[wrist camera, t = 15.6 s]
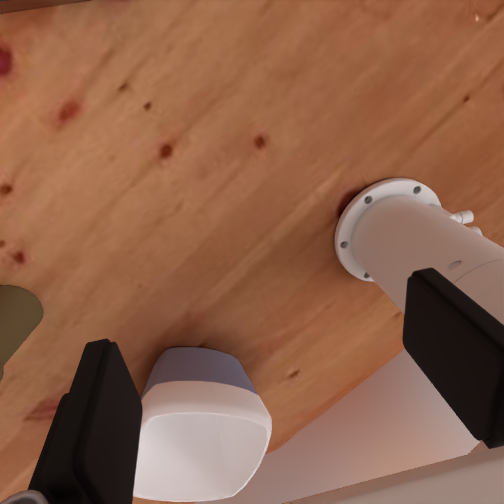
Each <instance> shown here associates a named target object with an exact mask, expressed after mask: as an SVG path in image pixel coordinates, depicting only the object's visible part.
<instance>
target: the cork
mask: <svg viewBox="0 0 504 504" xmlns="http://www.w3.org/2000/svg"><path fill="white" fill-rule="evenodd" d="M42 317H43V308H42V305H41V303H40V301H39V300H38V299H37V298H36V296H34V295H33V294H32V293H30V292H29V291H27V290H25V289H22V288H19V287H16V286H8V285H6V286H0V382H1V380H2V378H3V373H4V365H5V363H6V362H7V361H8V360H9V359H10V357H11V356H12V355H13V354H14V353H15V351H16V350H17V349H18V348H19V347H20V345H21V344H22V343H23V342H24V341H25V339H26V338H27V337H28V336H29V335H30V333H31V332H32V331H33V330H34V329H35V327H36V326H37V325H38V324H39V323H40V321H41V319H42Z"/></svg>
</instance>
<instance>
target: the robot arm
mask: <svg viewBox="0 0 504 504" xmlns="http://www.w3.org/2000/svg"><path fill="white" fill-rule="evenodd" d="M473 219H474V217H473V213H472V212H471V211H470V210H466V211H461V212H457V213H455V214H452V213H450V212H448V211H447V210H445V209H443V208H441V204H440V202H439V200H438V198H437V196H436V195H435V193H434V192H433V191H432V190H431V189H430V188H428V187H427V186H425V185H424V184H422V183H420V182H417V181H415V180H412V179H407V178H392V179H387V180H383V181H380V182H378V183H375V184H373V185H371V186H369V187H368V188H366V189H364V190H363V191H362V192H361V193H359V194H358V195H357V196H356V197H355V198H354V199H353V200H352V201H351V202H350V203H349V204H348V206H347V207H346V208H345V210H344V212H343V213H342V215H341V217H340V219H339V222H338V224H337V227H336V232H335V250H336V254H337V256H338V259H339V261H340V262H341V264H342V265H343V266H344V268H345V269H346V270H347V271H348V272H349V273H350V274H352V275H353V276H355V277H357V278H359V279H361V280H364V281H371V282H376V283H377V284H378V286H379V287H380V288H381V289H382V290H383V291H384V292H385V294H386V295H387V296H388V297H389V298H390V299H391V300H392V301H393V303H394V304H395V305H396V306H397V307H398V308H399V309H400V311H401V312H402V313H403V314H404V326H403V344H404V347H405V349H406V350H407V352H408V353H409V354H410V355H411V357H412V358H413V359H414V361H415V362H416V363H417V365H418V366H419V367H420V368H421V370H422V371H423V372H424V374H425V375H426V376H427V377H428V379H429V380H430V381H431V383H432V384H433V385H434V387H435V388H436V389H437V390H438V392H439V393H440V394H441V396H442V397H443V398H444V399H445V401H446V402H447V403H448V404H449V406H450V407H451V408H452V410H453V411H454V412H455V413H456V415H457V416H458V417H459V419H460V420H461V421H462V422H463V424H464V425H465V426H466V428H467V429H468V430H469V431H470V433H471V434H472V435H473V436H474V438H476V439H477V440H479V441H481V440H482V441H481V442H480V443H479V444H478V445H477V446H476V447H475V448H474V449H473V450H472V451H471V452H470V453H469V454H468V455H464V456H460V457H457V458H453V459H449V460H445V461H442V462H437V463H434V464H430V465H426V466H422V467H418V468H415V469H411V470H407V471H403V472H399V473H395V474H392V475H387V476H384V477H380V478H376V479H372V480H369V481H365V482H361V483H357V484H354V485H350V486H346V487H342V488H339V489H335V490H331V491H327V492H324V493H320V494H316V495H313V496H309V497H305V498H301V499H298V500H294V501H290V502H286V503H282V504H504V248H503V247H501V246H499V245H498V244H496V243H494V242H492V241H491V240H489V239H487V238H485V237H484V236H482V233H481V231H480V229H479V228H478V227H475V226H473V227H466V226H464V225H463V224H465V223H470V222H472V221H473ZM142 414H143V407H142V402H141V399H140V397H139V394H138V392H137V390H136V387H135V385H134V383H133V380H132V378H131V376H130V373H129V371H128V369H127V366H126V364H125V362H124V359H123V357H122V355H121V352H120V350H119V348H118V345H117V344H116V342H110V341H109V340H108V339H102V340H97V341H93V342H88V343H87V344H86V346H85V348H84V351H83V354H82V357H81V360H80V363H79V366H78V368H77V371H76V374H75V377H74V380H73V383H72V386H71V388H70V391H69V393H66V394H64V395H63V396H62V398H61V400H60V402H59V405H58V408H57V411H56V413H55V416H54V419H53V422H52V424H51V427H50V430H49V432H48V435H47V438H46V441H45V443H44V446H43V449H42V451H41V454H40V457H39V460H38V462H37V465H36V468H35V471H34V473H33V476H32V479H31V481H30V484H29V487H28V490H25V491H20V492H18V493H16V494H14V495H11V496H9V497H8V498H7V499H5V500H4V501H2V502H1V503H0V504H132V499H133V491H134V482H135V474H136V465H137V457H138V448H139V440H140V431H141V423H142Z"/></svg>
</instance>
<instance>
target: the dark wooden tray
mask: <svg viewBox="0 0 504 504" xmlns="http://www.w3.org/2000/svg"><path fill="white" fill-rule="evenodd" d="M84 1H91V0H0V14H3V13H9V12H16V11H23V10H30V9H37V8H43V7H50V6H57V5H64V4H71V3H78V2H84Z"/></svg>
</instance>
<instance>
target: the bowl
mask: <svg viewBox="0 0 504 504" xmlns="http://www.w3.org/2000/svg"><path fill="white" fill-rule="evenodd" d="M141 402H142V407H143V414H142V423H141V431H140V440H139V448H138V457H137V465H136V474H135V482H134V491H133V496H136V497H139V498H143V499H151V500H159V501H175V502H191V501H209V500H218V499H223V498H228V497H232V496H234V495H235V494H236V493H238V491H240V490H241V489H242V488H243V487H244V486H245V485H246V484H247V483H248V481H249V480H250V479H251V477H252V476H253V475H254V473H255V472H256V470H257V469H258V467H259V465H260V464H261V461H262V459H263V457H264V454H265V452H266V450H267V447H268V443H269V440H270V436H271V432H272V422H271V417H270V415H269V413H268V411H267V409H266V408H265V406H264V404H263V402H262V400H261V399H260V397H259V396H258V394H257V392H256V390H255V389H254V387H253V385H252V383H251V382H250V380H249V378H248V376H247V374H246V373H245V371H244V369H243V367H242V365H241V364H240V362H239V360H238V359H237V358H236V357H234V356H232V355H229V354H226V353H223V352H220V351H217V350H212V349H207V348H197V347H176V348H170V349H167V350H165V351H164V352H163V353H162V354H161V355H160V357H159V358H158V360H157V362H156V364H155V365H154V367H153V369H152V371H151V374H150V376H149V379H148V381H147V384H146V386H145V389H144V392H143V394H142V397H141Z"/></svg>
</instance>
